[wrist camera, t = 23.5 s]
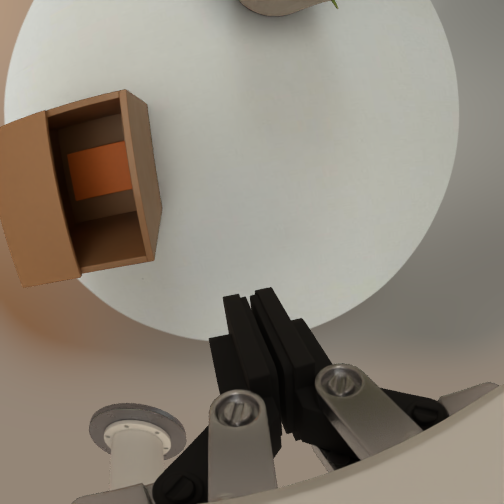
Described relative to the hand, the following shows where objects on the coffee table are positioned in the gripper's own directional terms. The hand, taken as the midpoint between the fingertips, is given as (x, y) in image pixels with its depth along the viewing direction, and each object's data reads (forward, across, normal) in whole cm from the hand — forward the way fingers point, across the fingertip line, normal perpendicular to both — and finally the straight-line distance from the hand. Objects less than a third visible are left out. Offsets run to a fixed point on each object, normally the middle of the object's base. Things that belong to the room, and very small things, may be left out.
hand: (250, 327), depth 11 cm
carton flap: (+12, +13, -4) cm, 18 cm away
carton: (+27, +10, -4) cm, 29 cm away
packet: (+26, +9, -4) cm, 28 cm away
